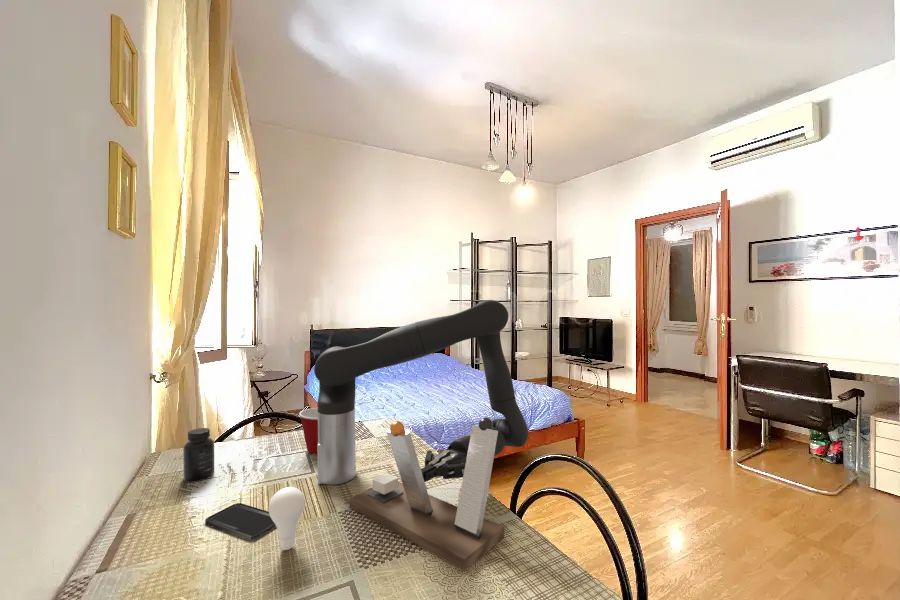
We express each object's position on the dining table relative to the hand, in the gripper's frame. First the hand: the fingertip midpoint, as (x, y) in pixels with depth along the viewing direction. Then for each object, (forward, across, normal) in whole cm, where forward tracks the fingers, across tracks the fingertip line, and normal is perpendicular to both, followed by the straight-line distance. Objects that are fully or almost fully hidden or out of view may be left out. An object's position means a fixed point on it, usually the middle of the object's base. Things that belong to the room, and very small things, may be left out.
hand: (419, 477), depth 79 cm
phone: (+23, -28, +10) cm, 38 cm away
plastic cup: (-8, -51, +9) cm, 52 cm away
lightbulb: (+22, -13, +9) cm, 27 cm away
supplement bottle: (+21, -60, +9) cm, 64 cm away
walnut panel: (0, 0, +9) cm, 9 cm away
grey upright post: (0, +12, +6) cm, 14 cm away
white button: (0, -11, +7) cm, 13 cm away
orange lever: (0, 0, +6) cm, 6 cm away
